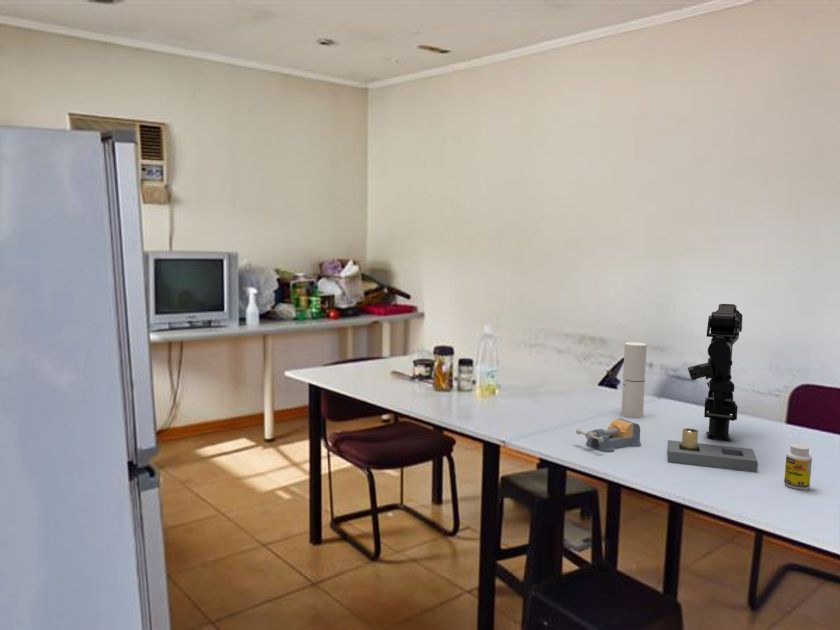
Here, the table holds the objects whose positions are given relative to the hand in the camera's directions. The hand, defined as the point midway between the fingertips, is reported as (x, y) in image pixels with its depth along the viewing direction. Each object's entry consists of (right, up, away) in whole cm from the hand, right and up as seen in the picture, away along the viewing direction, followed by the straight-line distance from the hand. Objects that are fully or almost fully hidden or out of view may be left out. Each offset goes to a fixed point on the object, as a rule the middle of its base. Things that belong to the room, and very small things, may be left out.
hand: (717, 409), depth 194 cm
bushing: (-11, -13, -6) cm, 18 cm away
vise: (-30, -12, +4) cm, 32 cm away
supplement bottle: (+8, -16, -27) cm, 32 cm away
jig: (-6, -13, -8) cm, 16 cm away
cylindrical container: (-12, -8, +38) cm, 41 cm away
